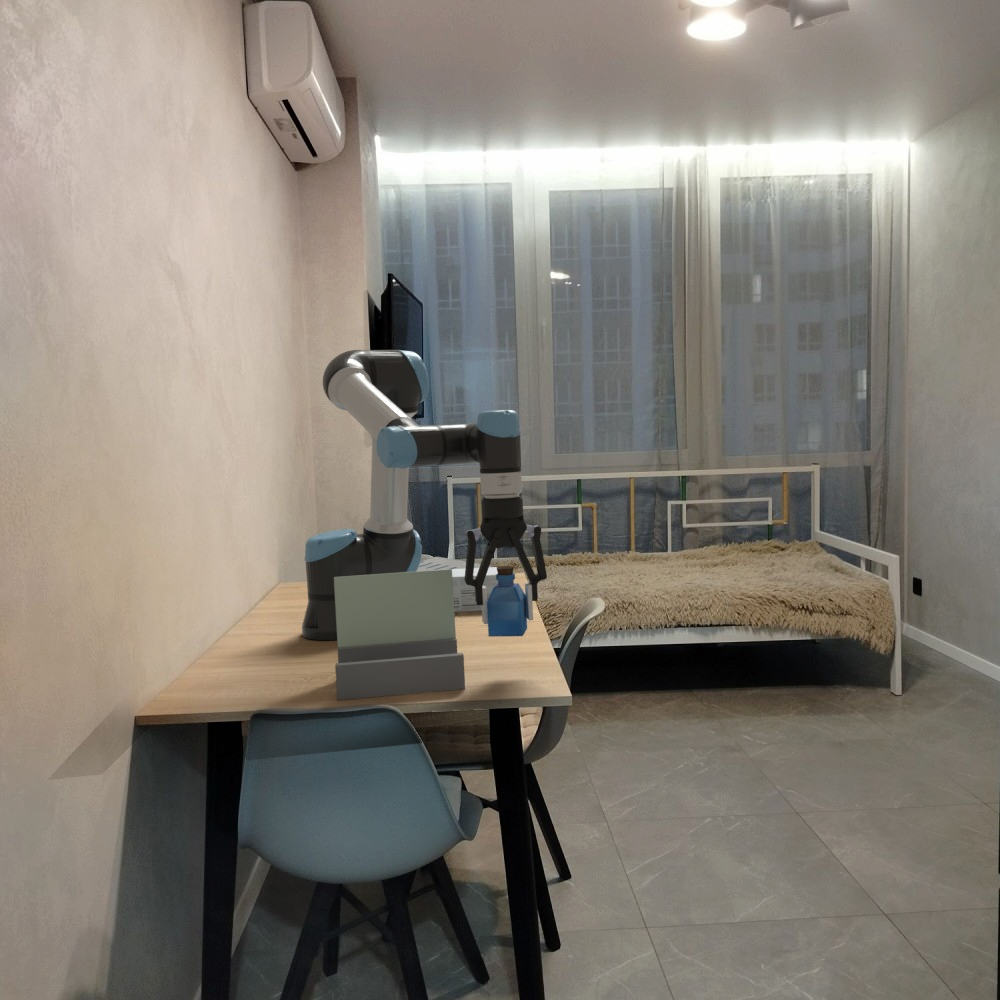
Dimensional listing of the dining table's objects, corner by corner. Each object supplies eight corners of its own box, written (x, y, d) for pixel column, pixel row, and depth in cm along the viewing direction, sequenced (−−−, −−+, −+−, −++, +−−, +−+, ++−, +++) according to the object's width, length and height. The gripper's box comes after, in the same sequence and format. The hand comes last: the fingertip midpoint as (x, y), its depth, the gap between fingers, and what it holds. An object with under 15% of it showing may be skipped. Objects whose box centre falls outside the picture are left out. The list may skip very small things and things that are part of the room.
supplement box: (507, 600, 229) (505, 565, 228) (504, 611, 216) (503, 574, 215) (443, 602, 230) (442, 568, 229) (437, 613, 217) (435, 576, 216)
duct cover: (337, 648, 160) (338, 647, 161) (455, 639, 163) (455, 638, 164) (333, 577, 160) (334, 577, 161) (451, 569, 163) (451, 569, 164)
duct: (339, 679, 160) (337, 647, 160) (457, 669, 163) (455, 638, 163) (337, 700, 147) (335, 665, 147) (465, 688, 150) (463, 655, 150)
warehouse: (397, 587, 259) (395, 562, 258) (437, 580, 267) (436, 556, 266) (452, 600, 234) (450, 572, 234) (494, 592, 243) (493, 565, 242)
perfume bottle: (522, 636, 154) (519, 569, 153) (488, 636, 155) (485, 570, 154) (527, 628, 160) (524, 564, 159) (494, 628, 161) (491, 565, 160)
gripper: (447, 500, 151) (454, 629, 152) (561, 494, 154) (566, 620, 155) (443, 497, 158) (450, 620, 160) (552, 491, 161) (557, 612, 163)
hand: (507, 620), depth 157 cm, fingers closed on perfume bottle, 7 cm apart
